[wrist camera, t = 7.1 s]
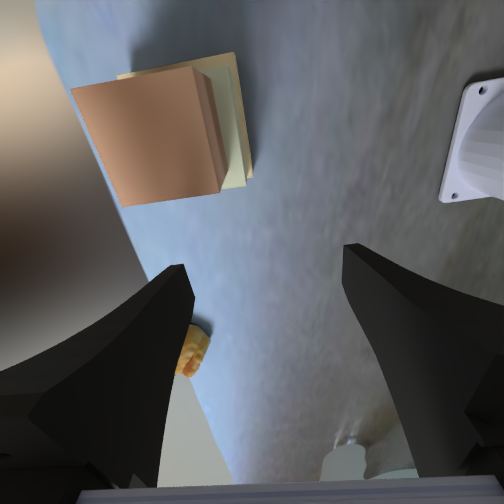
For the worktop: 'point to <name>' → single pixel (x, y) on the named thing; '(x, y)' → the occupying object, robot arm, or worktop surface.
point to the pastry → (192, 351)
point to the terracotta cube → (156, 135)
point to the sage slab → (228, 125)
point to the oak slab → (232, 64)
